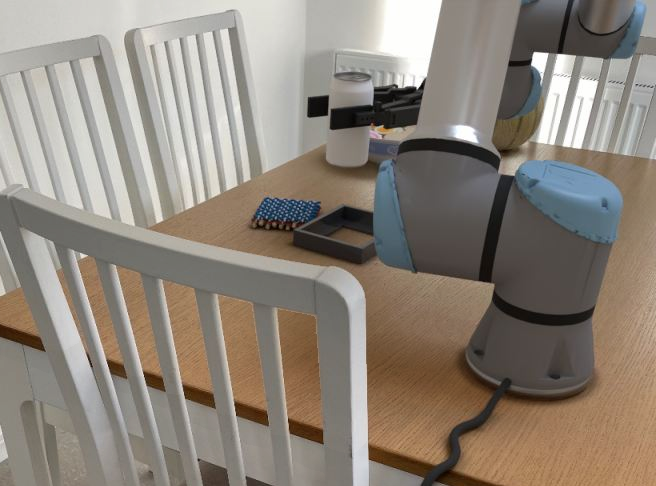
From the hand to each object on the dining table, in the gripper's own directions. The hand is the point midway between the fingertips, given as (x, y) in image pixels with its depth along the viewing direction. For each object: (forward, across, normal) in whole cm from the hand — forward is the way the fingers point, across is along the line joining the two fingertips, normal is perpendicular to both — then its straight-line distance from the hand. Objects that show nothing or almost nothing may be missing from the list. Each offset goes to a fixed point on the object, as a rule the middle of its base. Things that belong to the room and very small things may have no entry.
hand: (319, 113), depth 120 cm
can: (-5, 0, -8) cm, 9 cm away
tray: (-6, -2, -19) cm, 20 cm away
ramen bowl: (-33, +30, -19) cm, 49 cm away
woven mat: (0, +10, -19) cm, 22 cm away
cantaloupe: (-60, +30, -19) cm, 69 cm away
